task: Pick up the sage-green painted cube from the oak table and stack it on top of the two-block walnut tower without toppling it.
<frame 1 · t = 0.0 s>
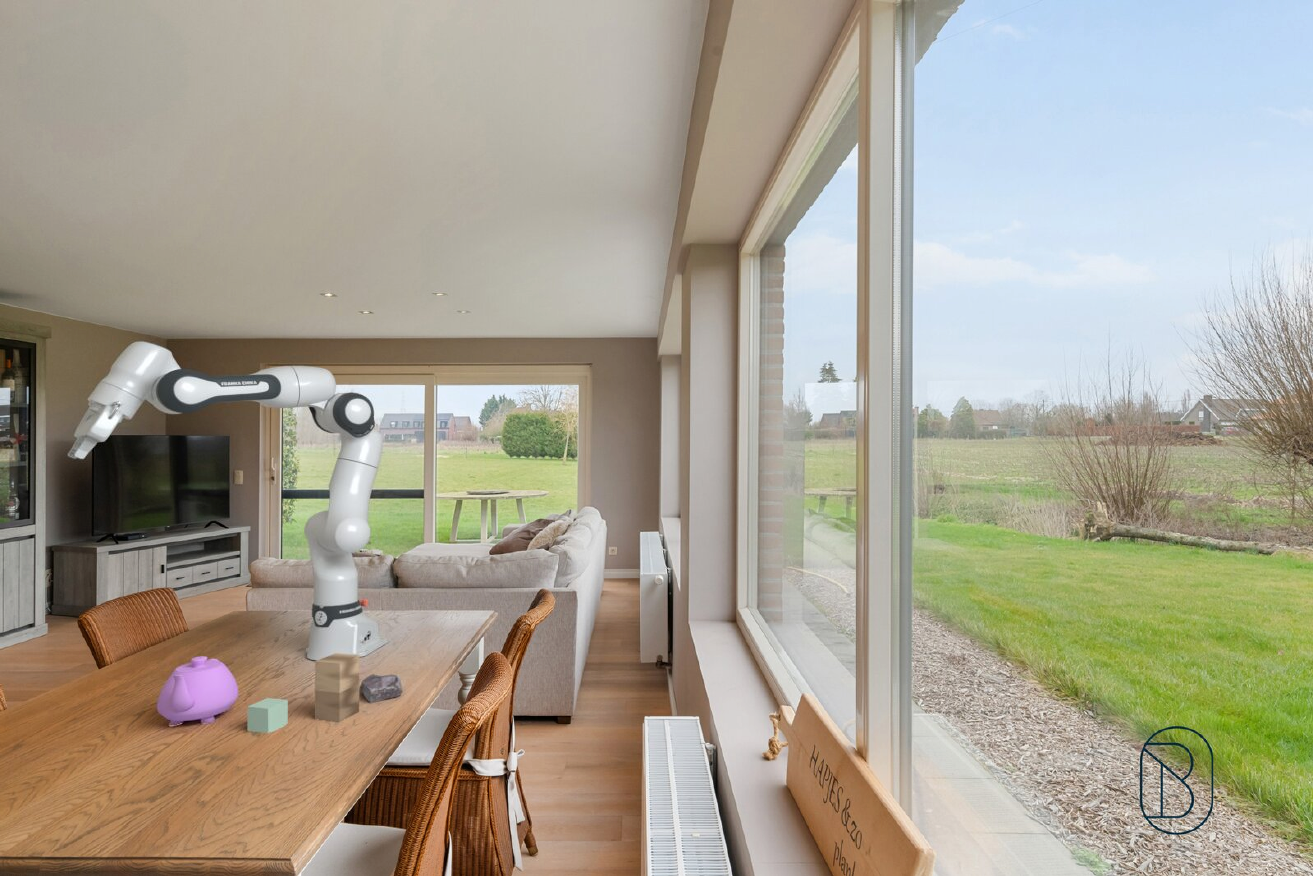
hand: (74, 457, 152), 54 cm above the table, tool tilted 30°, fingers open, 8 cm apart
sage block: (267, 728, 140), on the table
tower top: (337, 687, 146), point 6 cm above the table, touching tower bottom
tower bottom: (337, 715, 146), on the table, touching tower top
teapot: (196, 720, 144), on the table
rock: (381, 697, 158), on the table
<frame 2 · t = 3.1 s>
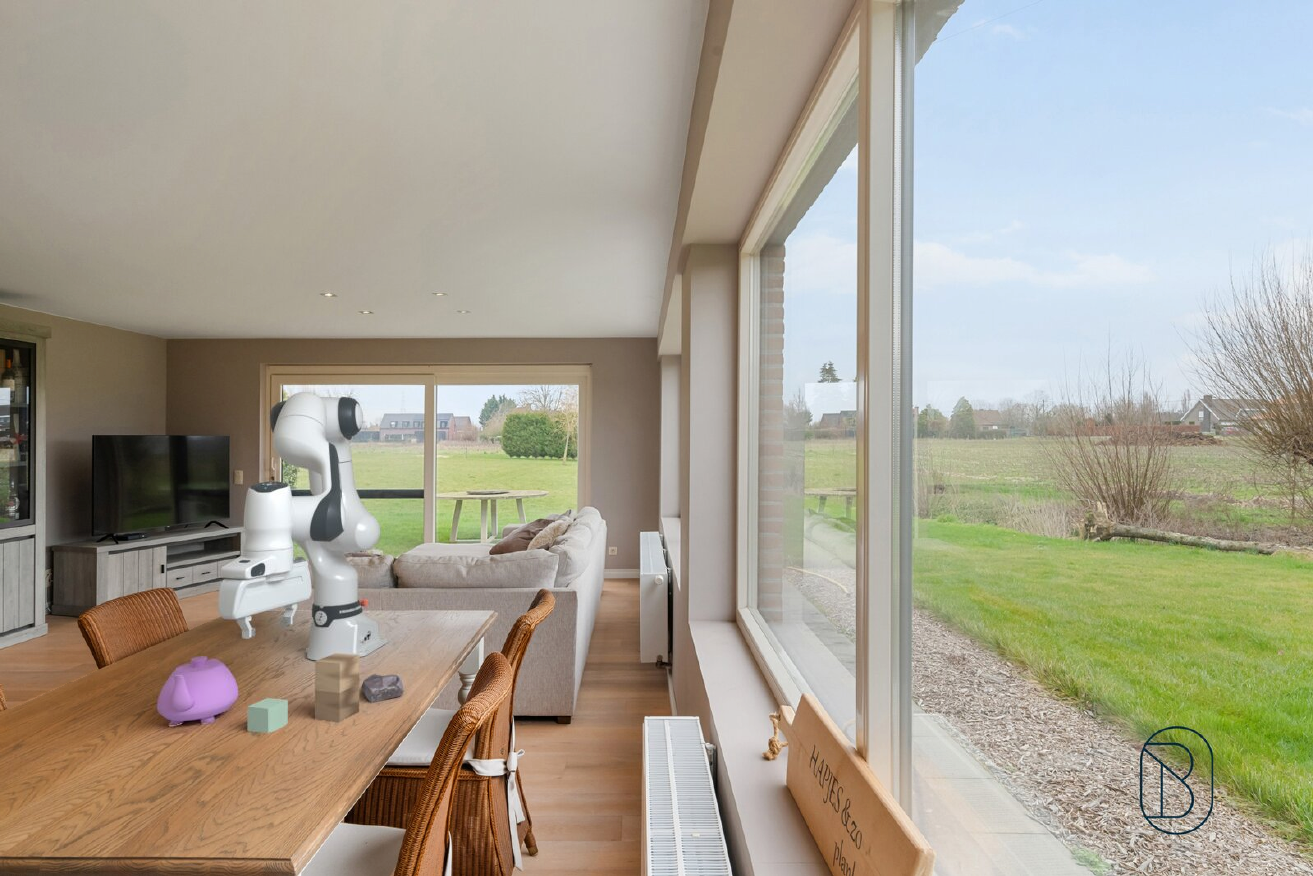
hand: (268, 631, 140), 19 cm above the table, tool pointing down, fingers open, 8 cm apart
nothing on the table moved.
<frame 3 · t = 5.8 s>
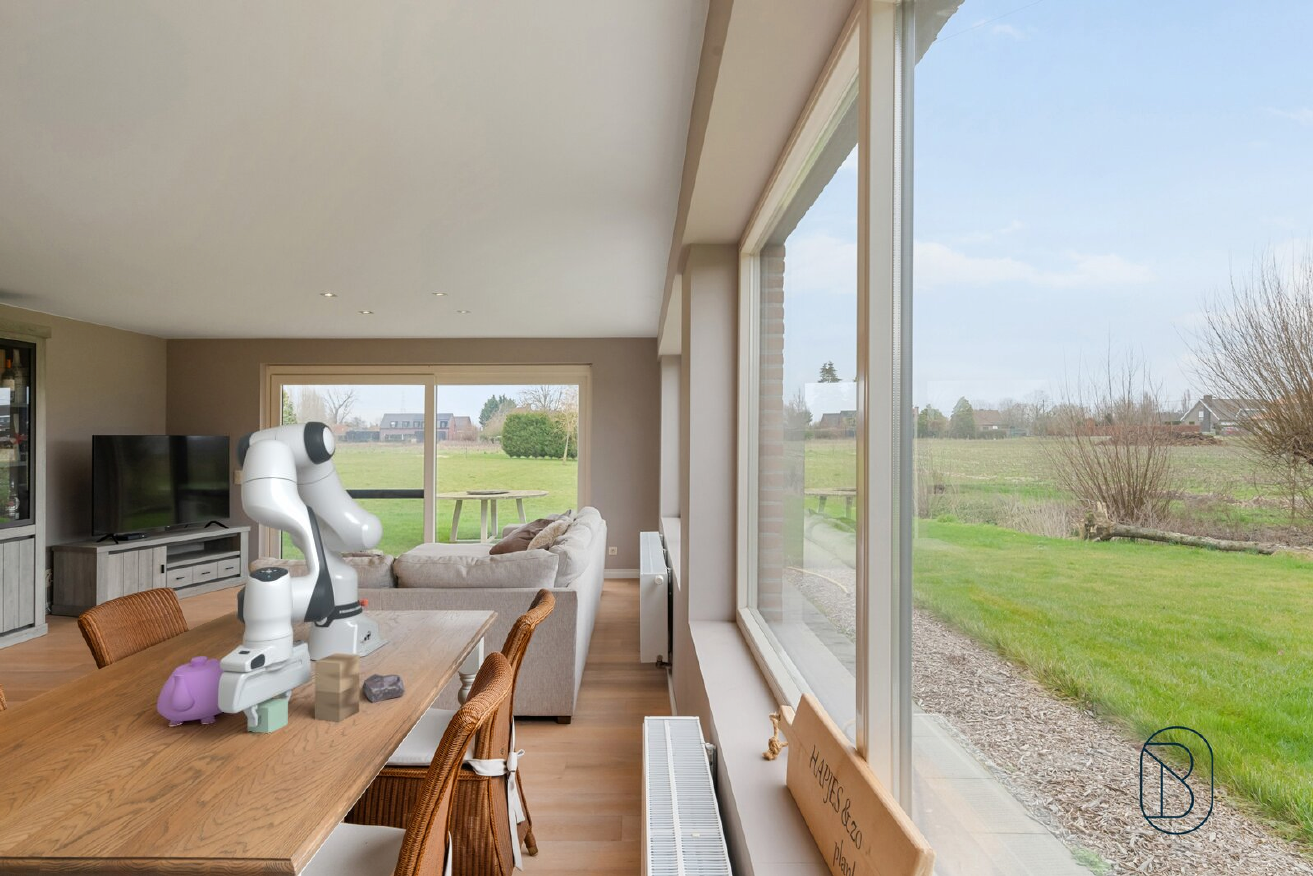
hand: (267, 719, 140), 2 cm above the table, tool pointing down, fingers closed on sage block, 5 cm apart
sage block: (267, 727, 140), on the table, touching gripper
everything else where it was.
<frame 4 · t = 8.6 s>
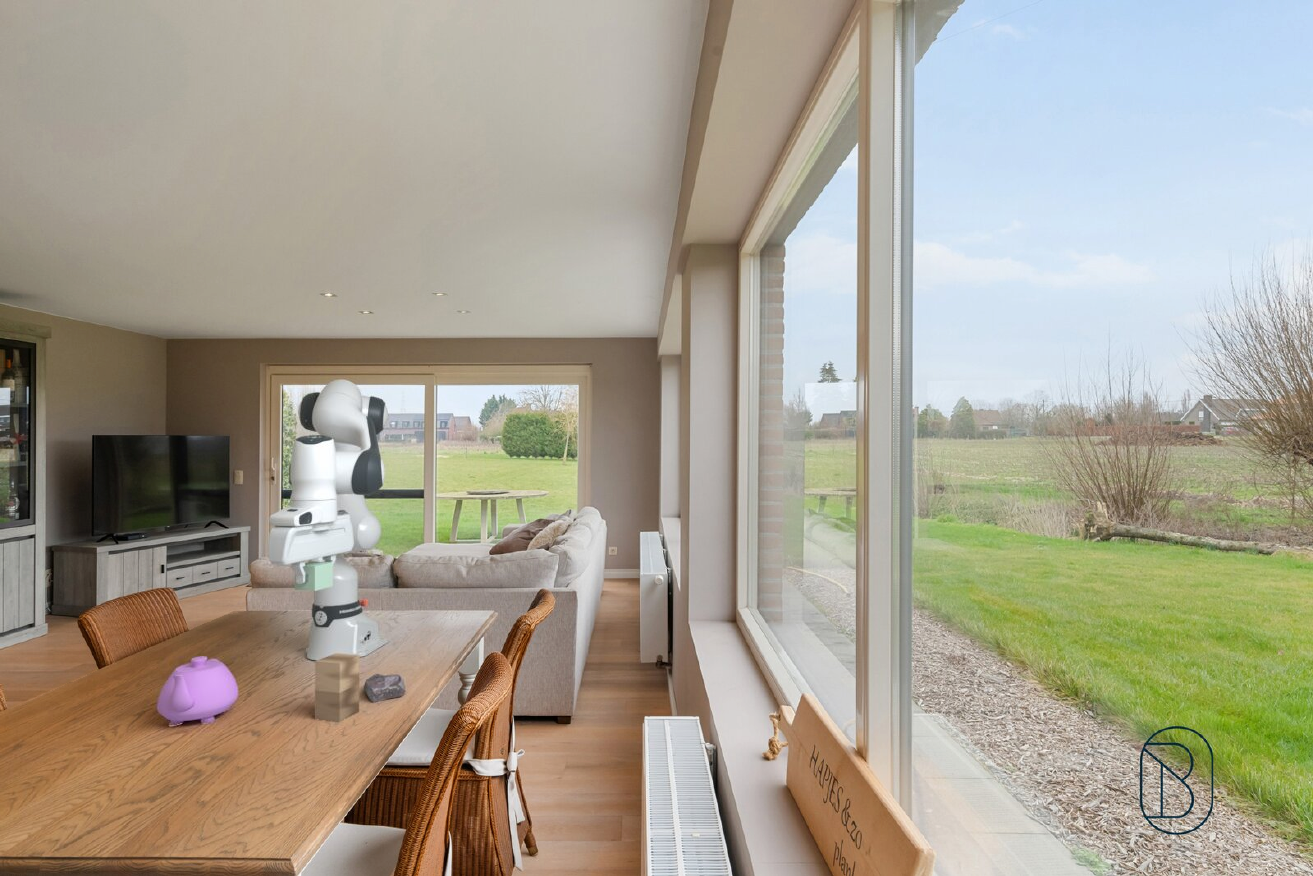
hand: (314, 580, 144), 29 cm above the table, tool pointing down, fingers closed on sage block, 5 cm apart
sage block: (313, 587, 144), point 27 cm above the table, touching gripper
everything else where it was.
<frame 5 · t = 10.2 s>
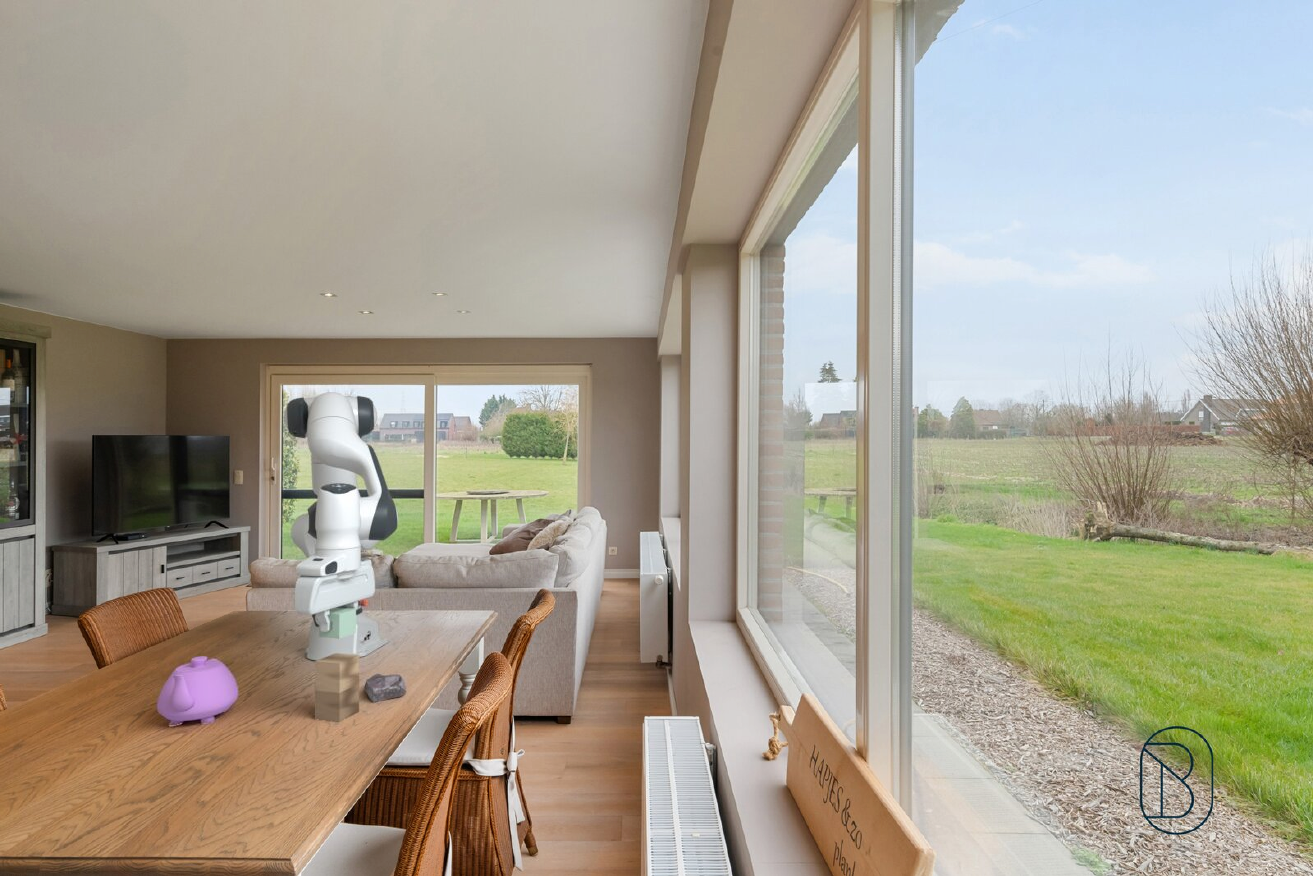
hand: (337, 627, 146), 18 cm above the table, tool pointing down, fingers closed on sage block, 5 cm apart
sage block: (337, 634, 146), point 17 cm above the table, touching gripper
everything else where it was.
when the fingers open (15 cm above the table, at t = 11.6 s): sage block drops 1 cm, resting on tower top.
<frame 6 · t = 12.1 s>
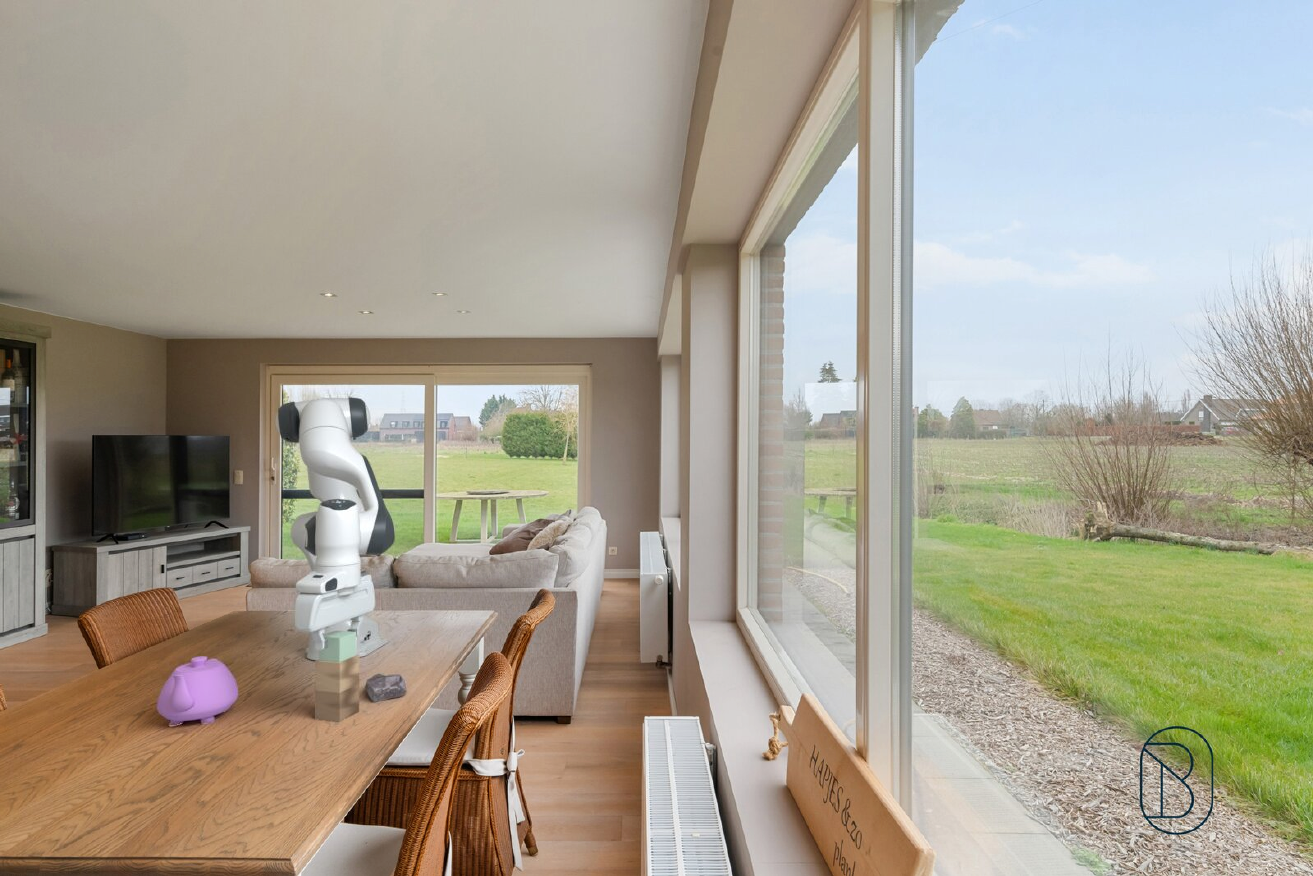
hand: (337, 643, 146), 15 cm above the table, tool pointing down, fingers open, 8 cm apart
sage block: (337, 658, 146), point 12 cm above the table, touching tower top
tower top: (337, 686, 146), point 6 cm above the table, touching sage block, tower bottom
everything else where it was.
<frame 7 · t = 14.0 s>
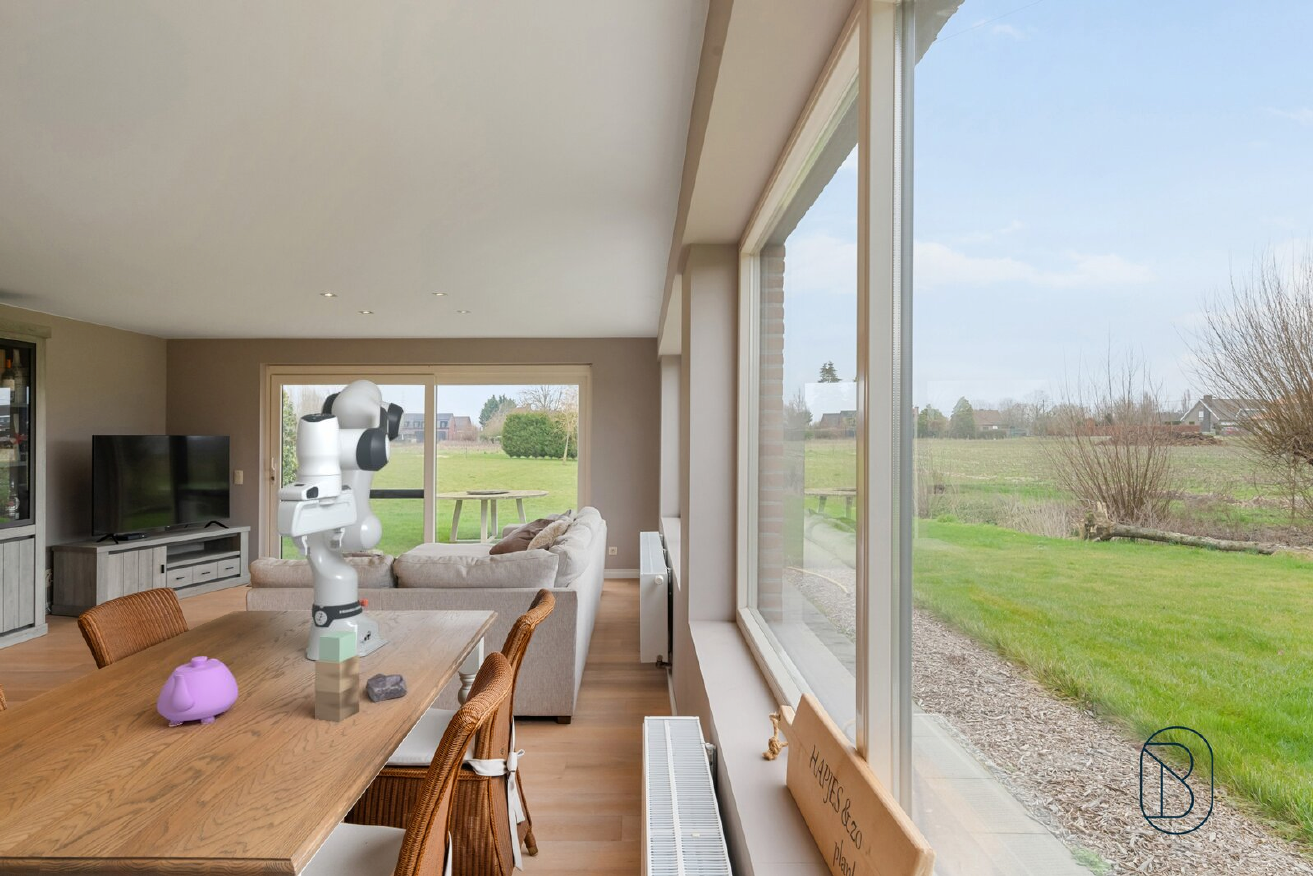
hand: (320, 551, 151), 34 cm above the table, tool pointing down, fingers open, 8 cm apart
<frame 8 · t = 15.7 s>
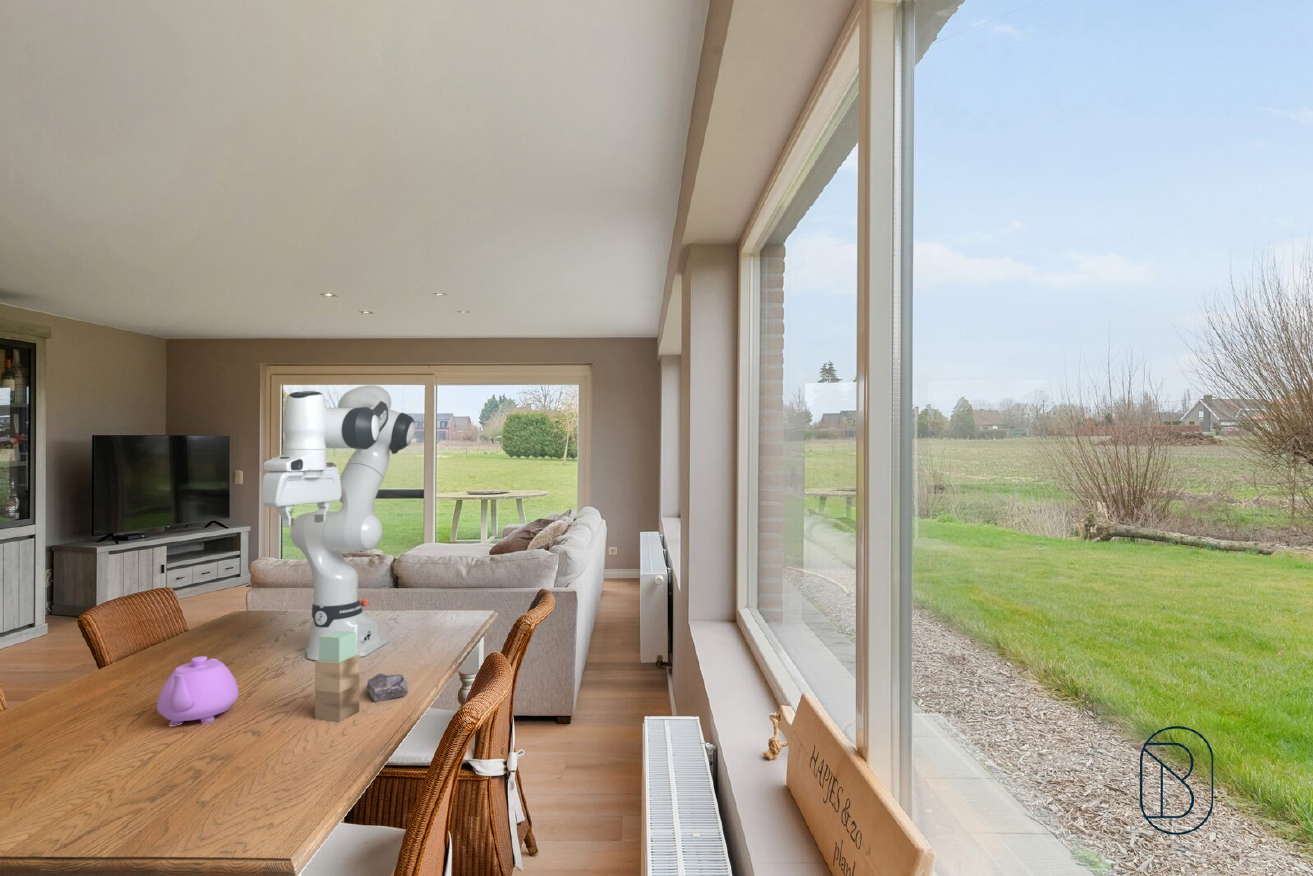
hand: (304, 524, 156), 39 cm above the table, tool pointing down, fingers open, 8 cm apart
at the end: sage block 0.0 cm off-centre on the tower top, point 6.0 cm above the tower top's base; tower top tilted 0°; sage block touching tower top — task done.
